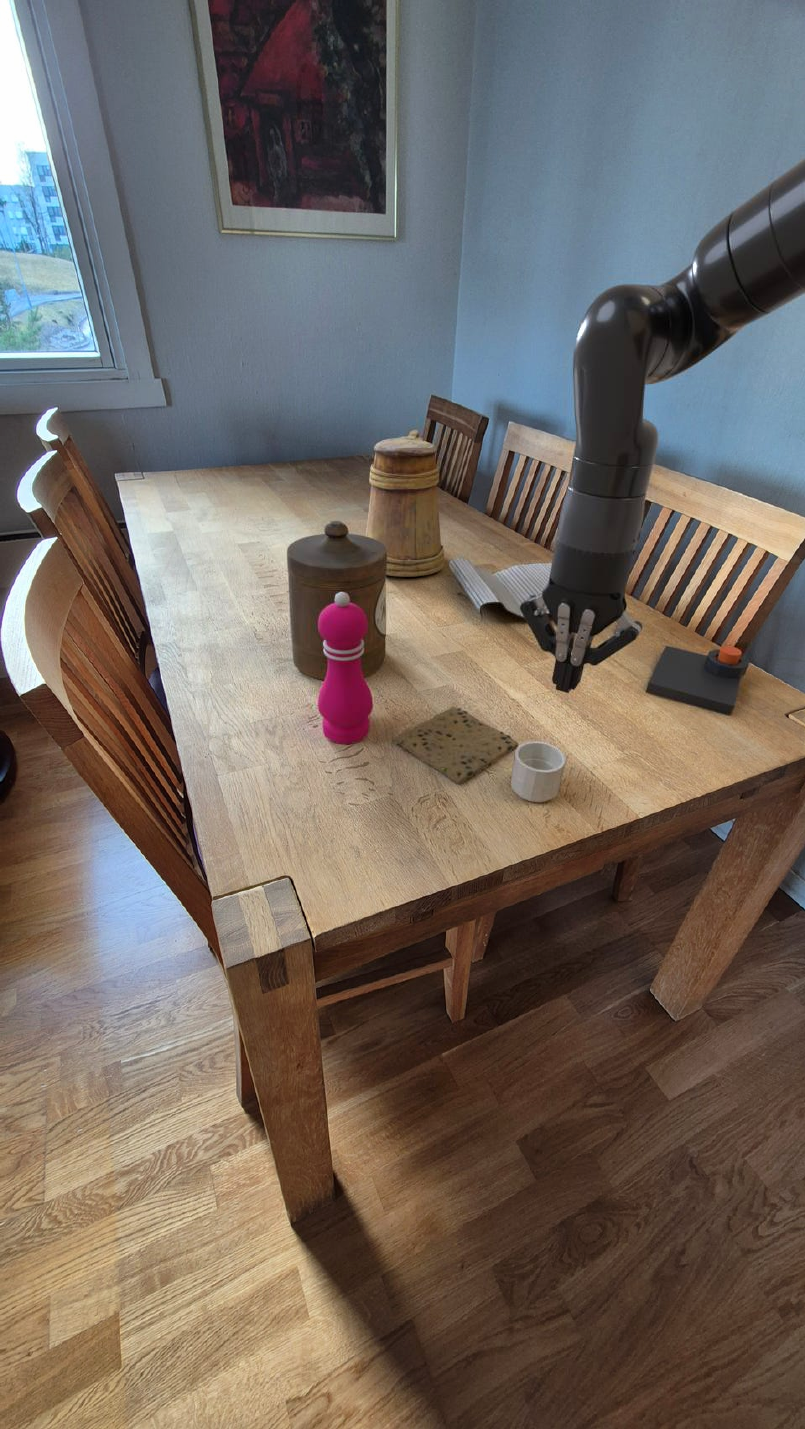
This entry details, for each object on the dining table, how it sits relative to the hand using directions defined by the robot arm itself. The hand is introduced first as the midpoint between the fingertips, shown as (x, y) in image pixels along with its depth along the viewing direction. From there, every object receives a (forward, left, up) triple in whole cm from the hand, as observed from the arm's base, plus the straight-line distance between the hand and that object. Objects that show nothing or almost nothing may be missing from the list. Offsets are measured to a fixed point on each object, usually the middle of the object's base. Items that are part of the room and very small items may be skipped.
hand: (564, 688), depth 70 cm
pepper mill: (+27, +5, -13) cm, 30 cm away
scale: (-12, -34, -13) cm, 39 cm away
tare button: (-16, -38, -10) cm, 43 cm away
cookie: (+13, 0, -13) cm, 18 cm away
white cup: (+1, +3, -13) cm, 13 cm away
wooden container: (+39, -11, -13) cm, 43 cm away
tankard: (+52, -55, -13) cm, 77 cm away
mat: (+23, -50, -13) cm, 57 cm away
